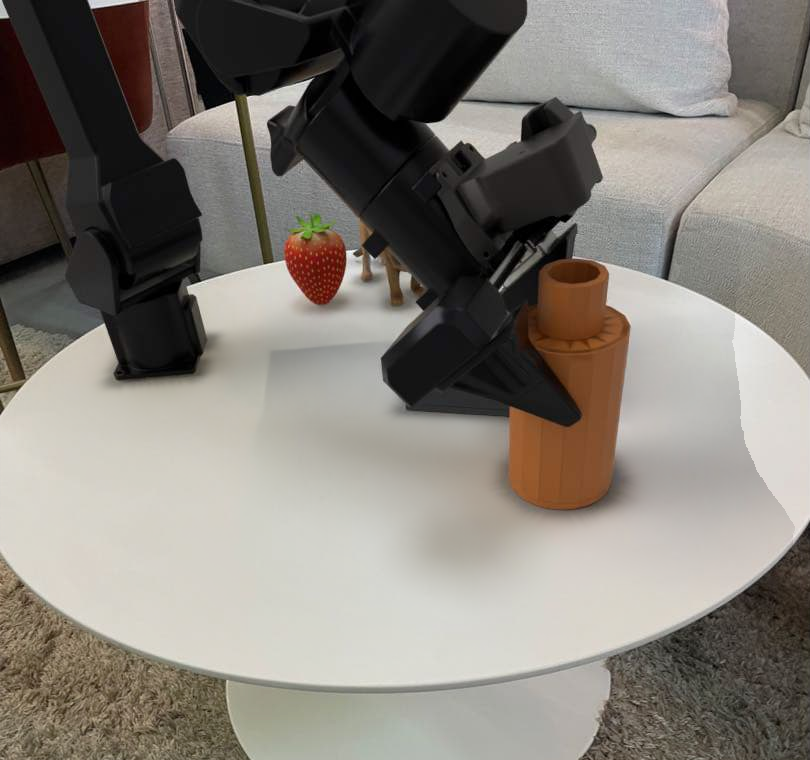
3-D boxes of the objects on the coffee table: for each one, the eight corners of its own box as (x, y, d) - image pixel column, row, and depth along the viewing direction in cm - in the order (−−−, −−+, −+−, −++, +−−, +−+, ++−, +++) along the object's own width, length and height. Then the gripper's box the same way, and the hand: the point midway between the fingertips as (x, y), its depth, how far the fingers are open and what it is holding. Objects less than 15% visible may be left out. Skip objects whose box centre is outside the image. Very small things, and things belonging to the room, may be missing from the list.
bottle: (516, 513, 49) (522, 304, 40) (503, 452, 53) (505, 253, 44) (621, 505, 49) (650, 293, 40) (598, 445, 53) (620, 243, 44)
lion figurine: (465, 303, 70) (463, 197, 64) (414, 322, 68) (407, 215, 62) (376, 253, 79) (367, 156, 73) (329, 268, 77) (316, 170, 71)
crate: (405, 410, 58) (401, 360, 55) (433, 339, 66) (431, 293, 63) (551, 419, 56) (554, 368, 53) (563, 345, 63) (566, 297, 61)
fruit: (284, 313, 71) (267, 221, 66) (307, 287, 75) (293, 199, 69) (340, 318, 70) (327, 225, 64) (361, 291, 73) (351, 201, 68)
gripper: (427, 113, 30) (683, 407, 34) (555, 14, 43) (733, 237, 47) (282, 289, 38) (503, 513, 42) (426, 162, 51) (587, 343, 55)
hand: (589, 390), depth 46 cm, fingers closed on bottle, 6 cm apart
